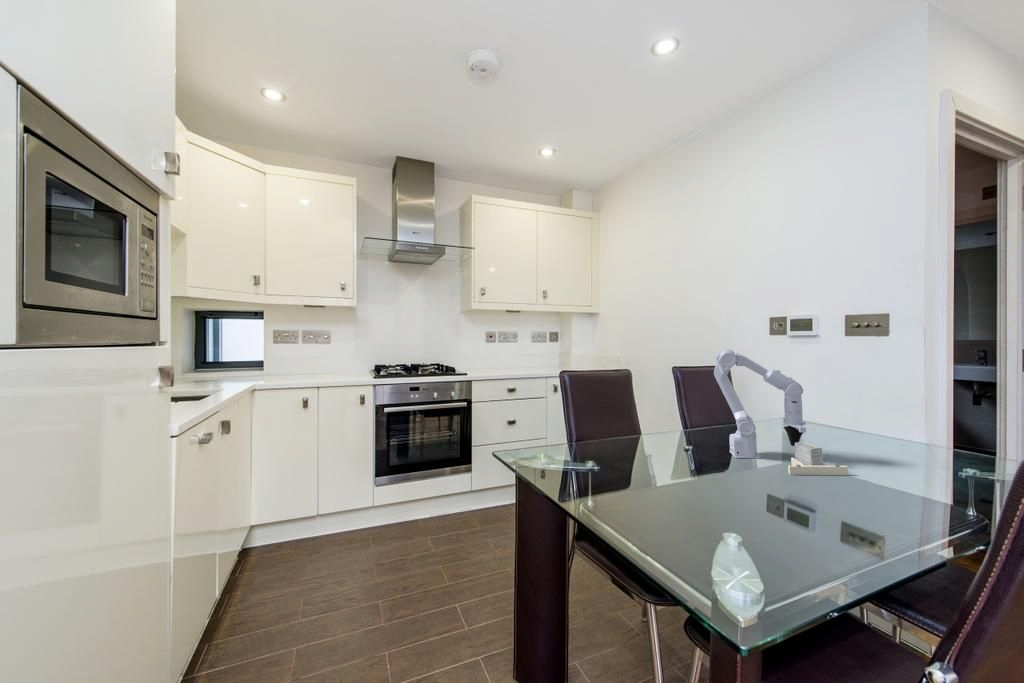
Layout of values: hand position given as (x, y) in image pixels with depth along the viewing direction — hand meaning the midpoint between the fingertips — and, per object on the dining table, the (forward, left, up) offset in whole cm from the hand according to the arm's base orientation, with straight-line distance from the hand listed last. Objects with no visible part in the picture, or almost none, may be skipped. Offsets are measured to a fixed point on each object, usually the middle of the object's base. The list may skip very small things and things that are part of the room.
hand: (794, 445), depth 155 cm
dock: (0, -11, -5) cm, 12 cm away
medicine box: (0, -10, -6) cm, 12 cm away
